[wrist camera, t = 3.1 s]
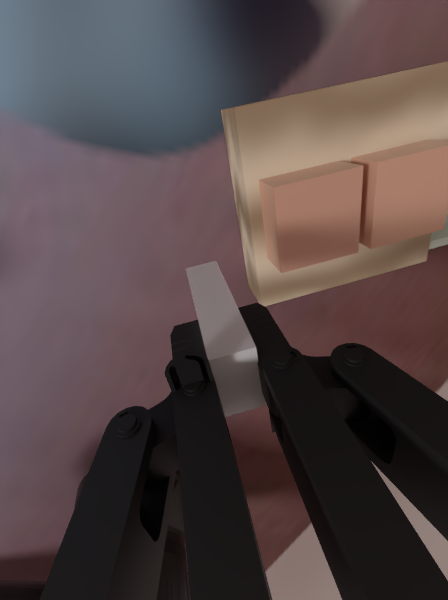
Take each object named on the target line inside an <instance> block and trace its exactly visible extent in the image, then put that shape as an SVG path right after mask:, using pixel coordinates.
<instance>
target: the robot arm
mask: <svg viewBox="0 0 448 600" xmlns="http://www.w3.org/2000/svg"><path fill="white" fill-rule="evenodd" d="M186 272H187V276H188V280H189V284H190V288H191V293H192V297H193V301H194V305H195V309H196V313H197V317H198V320H195V321H191V322H188V323H184V324H180V325H177V326H174V329H173V331H172V333H171V335H170V336H171V345H172V356H173V359H172V360H171V361H170V362H169V364H168V365H167V367H166V370H165V376H166V378H167V381H168V383H169V386H170V388H171V393H170V395H169V396H168V397H167V398H166V399H165V400H163V401H162V402H161V403H159V404H158V405H156V406H154V407H152V408H151V409H149V410H147V409H146V408H144V407H140V406H133V407H129V408H126V409H124V410H122V411H121V412H119V413H117V414H116V415H115V416H114V417H113V418H112V419H111V421H110V422H109V424H108V426H107V427H106V430H105V432H104V435H103V437H102V440H101V443H100V445H99V448H98V450H97V453H96V455H95V458H94V461H93V463H92V466H91V468H90V471H89V474H87V475H86V477H85V478H84V479H83V480H82V482H81V483H80V485H79V487H78V491H77V496H76V502H75V510H74V512H73V515H72V517H71V520H70V523H69V525H68V528H67V530H66V533H65V535H64V538H63V541H62V543H61V546H60V548H59V551H58V554H57V556H56V559H55V561H54V564H53V566H52V569H51V572H50V574H49V577H48V579H47V581H0V600H190V598H191V600H272V597H271V594H270V589H269V585H268V582H267V577H266V574H265V570H264V566H263V562H262V558H261V554H260V550H259V546H258V543H257V539H256V535H255V531H254V527H253V523H252V519H251V515H250V511H249V508H248V504H247V500H246V496H245V492H244V488H243V484H242V480H241V477H240V473H239V469H238V465H237V461H236V457H235V453H234V449H233V445H232V442H231V438H230V434H229V430H228V427H227V423H226V419H225V417H228V416H231V415H234V414H238V413H241V412H244V411H248V410H251V409H254V408H257V407H261V406H264V405H265V401H266V403H267V406H268V408H269V414H270V420H271V427H272V433H273V432H276V434H277V437H278V439H279V442H280V444H281V447H282V449H283V452H284V454H285V457H286V459H287V462H288V464H289V467H290V469H291V472H292V474H293V477H294V479H295V482H296V484H297V487H298V489H299V492H300V494H301V497H302V499H303V502H304V504H305V507H306V509H307V512H308V514H309V517H310V520H311V522H312V525H313V527H314V529H315V532H316V535H317V537H318V540H319V542H320V544H321V547H322V550H323V552H324V555H325V557H326V560H327V562H328V565H329V567H330V570H331V572H332V574H333V577H334V579H335V582H336V585H337V587H338V590H339V592H340V595H341V597H342V600H448V581H447V579H446V577H445V576H444V574H443V573H442V571H441V570H440V568H439V567H438V565H437V563H436V562H435V560H434V559H433V558H432V556H431V554H430V553H429V551H428V550H427V548H426V546H425V545H424V543H423V542H422V540H421V539H420V537H419V536H418V534H417V532H416V531H415V529H414V528H413V526H412V525H411V523H410V521H409V520H408V518H407V517H406V515H405V514H404V512H403V511H402V509H401V507H400V506H399V504H398V503H397V501H396V500H395V498H394V497H393V495H392V493H391V492H390V490H389V489H388V487H387V486H386V484H385V482H384V481H383V480H382V478H381V477H380V475H379V473H378V472H377V470H376V468H375V467H374V465H373V464H372V462H373V463H374V464H375V465H376V466H377V467H378V468H379V469H380V470H381V472H382V473H383V474H384V475H385V476H386V477H387V478H388V479H389V480H390V481H391V482H392V483H393V484H394V485H395V486H396V487H397V488H398V489H399V490H400V491H401V492H402V493H403V495H404V496H405V497H406V498H407V499H408V500H409V501H410V502H411V503H412V504H413V505H414V506H415V507H416V508H417V509H418V510H419V511H420V512H421V513H422V514H423V515H424V516H425V518H426V519H427V520H428V521H430V523H431V524H432V525H433V526H434V527H435V528H436V529H437V530H438V531H439V532H440V533H441V534H442V535H443V536H444V537H445V538H446V539H447V541H448V401H446V400H445V399H443V398H442V397H440V396H439V395H438V394H436V393H435V392H433V391H432V390H430V389H429V388H427V387H426V386H424V385H423V384H422V383H420V382H419V381H417V380H416V379H414V378H413V377H411V376H410V375H408V374H407V373H405V372H404V371H403V370H401V369H400V368H398V367H397V366H395V365H394V364H392V363H391V362H389V361H388V360H386V359H385V358H384V357H382V356H381V355H379V354H378V353H376V352H375V351H373V350H372V349H370V348H368V347H366V346H364V345H361V344H356V343H345V344H342V345H339V346H337V347H336V348H335V349H334V350H333V351H332V354H331V356H325V357H311V356H306V355H302V354H301V353H300V352H299V351H298V350H296V349H294V348H292V347H291V346H290V345H289V343H288V342H287V340H286V338H285V337H284V335H283V333H282V332H281V330H280V329H279V327H278V325H277V324H276V323H275V321H274V319H273V317H272V316H271V314H270V312H269V311H268V309H267V308H266V307H264V306H263V305H261V304H259V303H254V304H251V305H247V306H243V307H240V308H238V307H237V305H236V303H235V301H234V299H233V296H232V294H231V292H230V290H229V288H228V286H227V284H226V281H225V279H224V277H223V275H222V273H221V271H220V269H219V266H218V264H217V262H216V261H214V262H210V263H206V264H202V265H198V266H194V267H190V268H186ZM264 398H265V399H264ZM370 460H371V461H372V462H371V461H370ZM185 542H186V549H185ZM186 553H187V560H186ZM187 564H188V570H187ZM188 576H189V580H188ZM189 587H190V590H189Z"/></svg>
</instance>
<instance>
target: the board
mask: <svg viewBox="0 0 448 600" xmlns="http://www.w3.org/2000/svg"><path fill="white" fill-rule="evenodd" d="M221 113H222V119H223V126H224V132H225V139H226V145H227V151H228V158H229V164H230V170H231V177H232V183H233V189H234V196H235V202H236V208H237V215H238V221H239V227H240V234H241V240H242V246H243V253H244V259H245V265H246V272H247V278H248V284H249V287H250V289H251V291H252V292H253V294H254V295H255V297H256V299H257V300H258V302H259V303H260V304H261V305H263V306H267V305H271V304H275V303H278V302H282V301H285V300H289V299H293V298H296V297H300V296H303V295H307V294H310V293H314V292H318V291H321V290H325V289H328V288H332V287H335V286H339V285H343V284H346V283H350V282H353V281H357V280H360V279H364V278H368V277H371V276H375V275H378V274H382V273H385V272H389V271H393V270H396V269H400V268H403V267H407V266H410V265H414V264H418V263H421V262H425V261H426V260H427V255H428V250H429V245H430V240H431V234H432V233H429V234H425V235H421V236H417V237H414V238H410V239H406V240H403V241H399V242H395V243H392V244H388V245H384V246H381V247H377V248H373V249H370V248H368V247H366V246H364V245H363V244H361V243H359V250H358V253H355V254H351V255H347V256H344V257H340V258H336V259H333V260H329V261H325V262H321V263H318V264H314V265H310V266H307V267H303V268H299V269H296V270H292V271H288V272H285V273H281V272H280V271H279V270H278V269H277V268H276V267H275V266H274V265H273V264H272V262H271V261H270V260H269V259H268V258H267V251H266V242H265V233H264V224H263V216H262V207H261V198H260V189H259V180H260V179H264V178H268V177H272V176H277V175H281V174H285V173H289V172H293V171H297V170H302V169H306V168H310V167H314V166H318V165H322V164H327V163H331V162H335V161H342V162H347V163H351V158H352V157H356V156H360V155H364V154H368V153H373V152H377V151H381V150H385V149H389V148H393V147H398V146H402V145H406V144H410V143H414V142H418V141H423V140H443V141H448V61H447V62H442V63H437V64H433V65H428V66H423V67H418V68H413V69H409V70H404V71H399V72H395V73H390V74H385V75H381V76H376V77H372V78H367V79H362V80H358V81H353V82H348V83H344V84H339V85H334V86H330V87H325V88H320V89H316V90H311V91H307V92H302V93H297V94H293V95H288V96H283V97H279V98H274V99H269V100H265V101H260V102H255V103H251V104H246V105H242V106H237V107H232V108H228V109H223V110H221Z"/></svg>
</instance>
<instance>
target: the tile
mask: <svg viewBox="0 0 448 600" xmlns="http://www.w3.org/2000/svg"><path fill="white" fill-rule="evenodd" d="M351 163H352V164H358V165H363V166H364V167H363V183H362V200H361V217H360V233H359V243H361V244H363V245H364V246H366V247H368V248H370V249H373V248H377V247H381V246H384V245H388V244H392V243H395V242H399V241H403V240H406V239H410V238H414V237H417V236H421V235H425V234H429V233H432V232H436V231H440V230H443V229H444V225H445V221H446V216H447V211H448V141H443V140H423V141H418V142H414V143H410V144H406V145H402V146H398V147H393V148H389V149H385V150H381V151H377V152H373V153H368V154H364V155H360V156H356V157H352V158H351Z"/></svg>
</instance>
